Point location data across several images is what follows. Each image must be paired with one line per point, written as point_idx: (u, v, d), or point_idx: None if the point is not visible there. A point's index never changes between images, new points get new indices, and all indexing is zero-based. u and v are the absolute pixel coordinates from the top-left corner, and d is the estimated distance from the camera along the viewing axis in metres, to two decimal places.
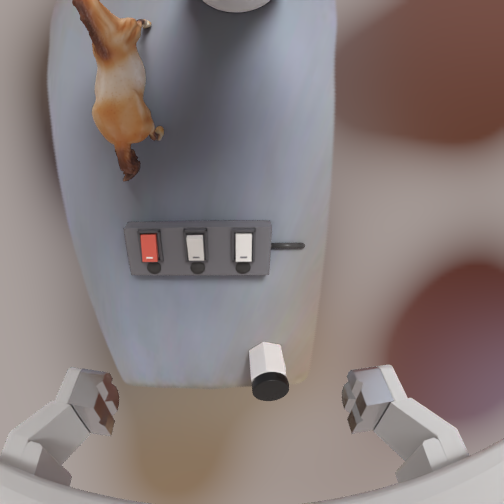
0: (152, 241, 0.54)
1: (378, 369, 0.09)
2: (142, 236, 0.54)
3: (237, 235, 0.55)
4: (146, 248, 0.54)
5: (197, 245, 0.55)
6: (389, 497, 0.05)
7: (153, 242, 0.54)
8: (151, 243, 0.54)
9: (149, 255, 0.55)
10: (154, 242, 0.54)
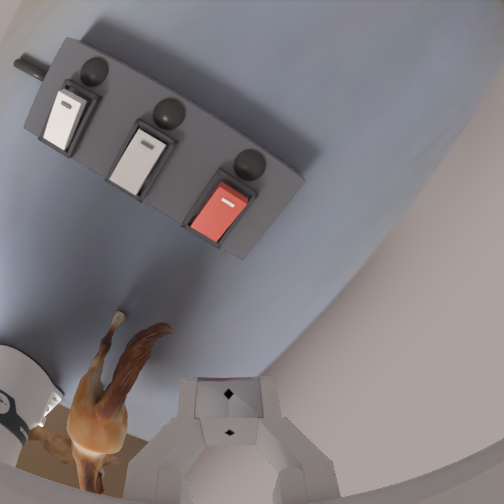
0: (203, 220, 0.28)
1: (257, 380, 0.09)
2: (214, 238, 0.29)
3: (62, 146, 0.24)
4: (221, 218, 0.28)
5: (126, 169, 0.25)
6: (389, 497, 0.05)
7: (202, 219, 0.28)
8: (206, 219, 0.28)
9: (225, 206, 0.27)
10: (200, 217, 0.28)
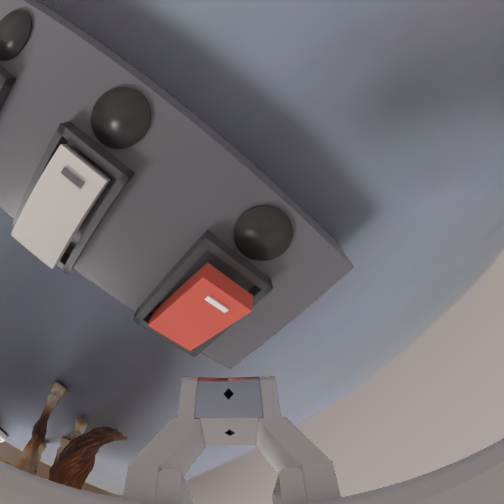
0: (169, 321, 0.15)
1: (257, 380, 0.09)
2: (187, 346, 0.16)
3: None
4: (202, 324, 0.15)
5: (36, 221, 0.12)
6: (389, 497, 0.05)
7: (168, 319, 0.15)
8: (175, 321, 0.15)
9: (211, 308, 0.14)
10: (164, 316, 0.15)
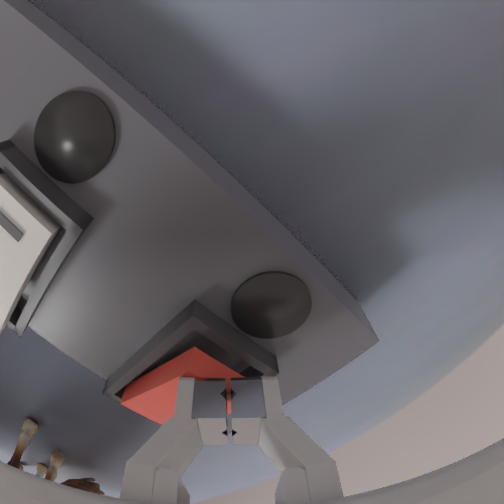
0: (146, 404, 0.11)
1: (259, 380, 0.09)
2: None
3: None
4: None
5: None
6: (389, 496, 0.05)
7: (145, 402, 0.11)
8: (154, 405, 0.11)
9: None
10: (140, 399, 0.11)
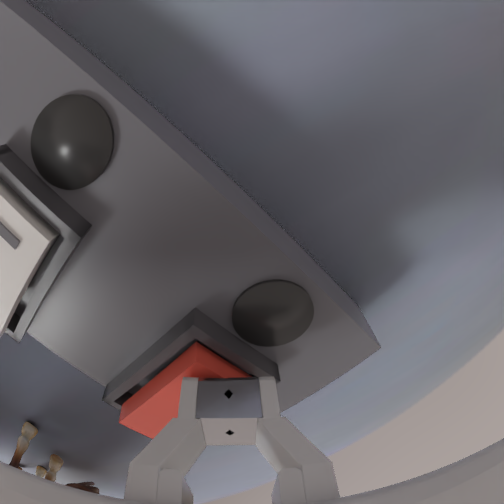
0: (148, 417, 0.10)
1: (256, 380, 0.09)
2: None
3: None
4: None
5: None
6: (389, 496, 0.05)
7: (146, 415, 0.10)
8: (156, 416, 0.10)
9: None
10: (141, 412, 0.10)
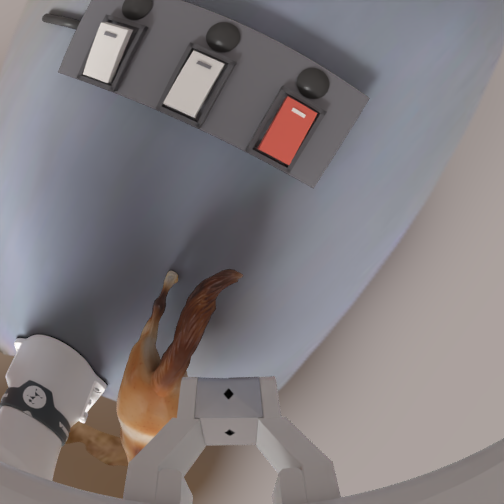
0: (273, 138, 0.24)
1: (257, 380, 0.09)
2: (286, 160, 0.25)
3: (105, 79, 0.21)
4: (293, 133, 0.24)
5: (182, 91, 0.22)
6: (389, 497, 0.05)
7: (272, 136, 0.24)
8: (277, 136, 0.24)
9: (296, 118, 0.24)
10: (269, 135, 0.24)
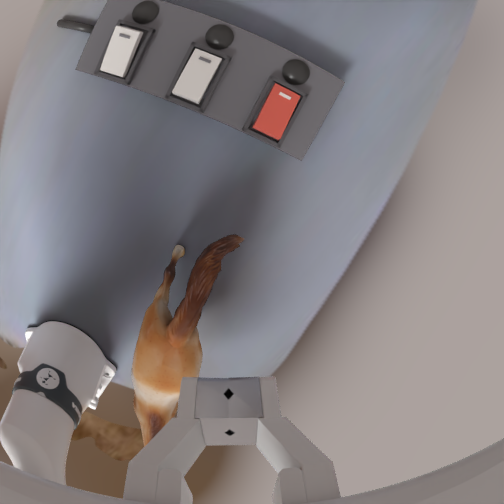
0: (265, 117, 0.28)
1: (257, 380, 0.09)
2: (278, 134, 0.29)
3: (120, 74, 0.25)
4: (281, 112, 0.28)
5: (188, 81, 0.26)
6: (390, 497, 0.05)
7: (264, 115, 0.28)
8: (268, 115, 0.28)
9: (283, 100, 0.28)
10: (262, 114, 0.28)
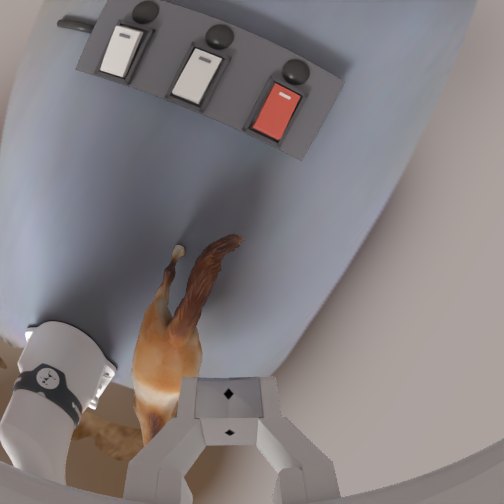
0: (265, 117, 0.28)
1: (257, 380, 0.09)
2: (278, 134, 0.28)
3: (120, 74, 0.25)
4: (282, 112, 0.28)
5: (188, 81, 0.26)
6: (390, 497, 0.05)
7: (265, 115, 0.28)
8: (268, 115, 0.28)
9: (283, 100, 0.28)
10: (262, 114, 0.28)
